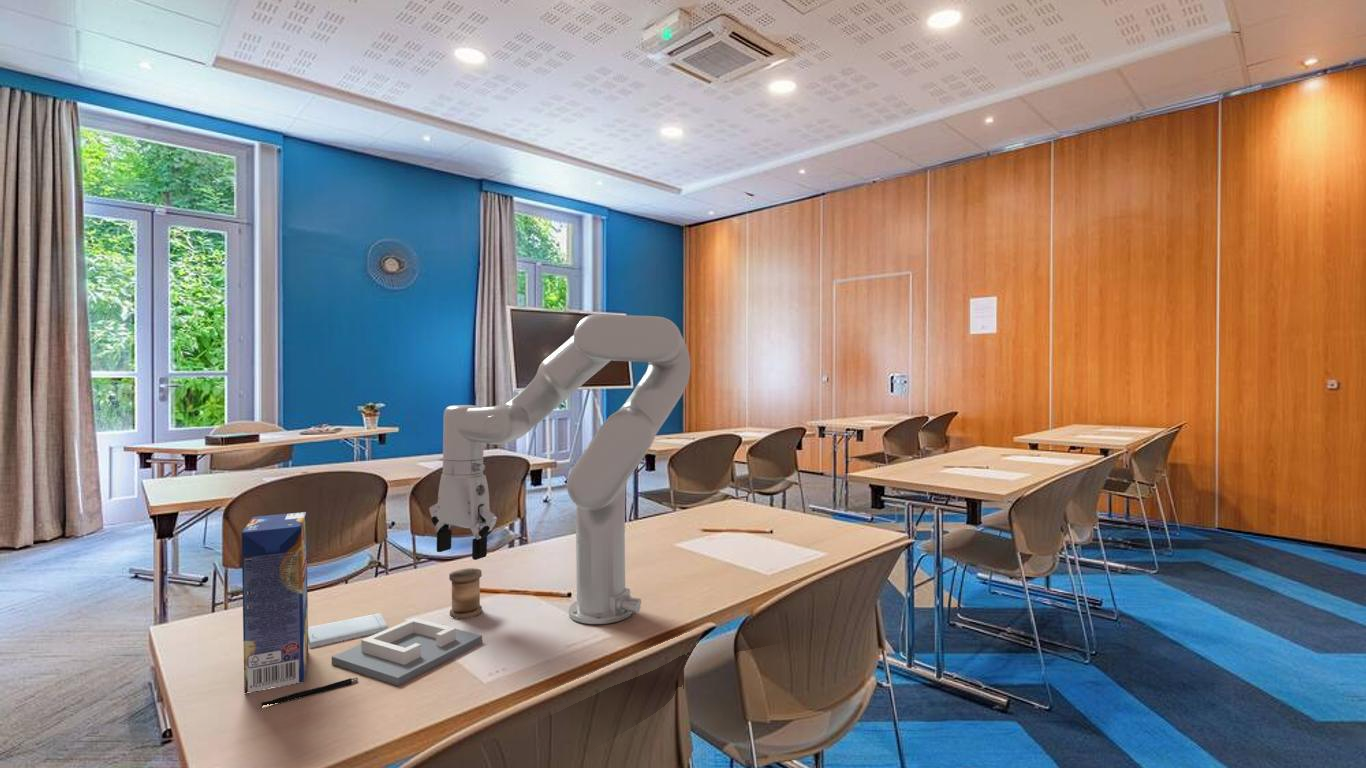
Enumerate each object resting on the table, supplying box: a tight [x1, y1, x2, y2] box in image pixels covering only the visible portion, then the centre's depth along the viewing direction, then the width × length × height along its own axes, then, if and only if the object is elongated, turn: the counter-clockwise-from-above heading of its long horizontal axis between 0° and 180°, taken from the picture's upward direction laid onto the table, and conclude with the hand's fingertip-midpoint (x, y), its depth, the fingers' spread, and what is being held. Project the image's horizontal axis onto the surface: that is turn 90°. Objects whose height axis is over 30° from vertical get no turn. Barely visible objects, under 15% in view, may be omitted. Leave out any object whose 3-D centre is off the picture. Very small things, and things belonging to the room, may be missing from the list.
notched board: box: [331, 617, 483, 686], centre depth 104 cm, size 16×17×3 cm
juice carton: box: [241, 511, 309, 693], centre depth 97 cm, size 12×8×24 cm, turn 28°
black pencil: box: [260, 677, 359, 707], centre depth 91 cm, size 12×1×1 cm, turn 126°
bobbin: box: [448, 568, 483, 620], centre depth 121 cm, size 6×6×8 cm
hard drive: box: [308, 612, 389, 649], centre depth 113 cm, size 2×8×12 cm
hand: (461, 554), depth 121 cm, fingers open, 9 cm apart
